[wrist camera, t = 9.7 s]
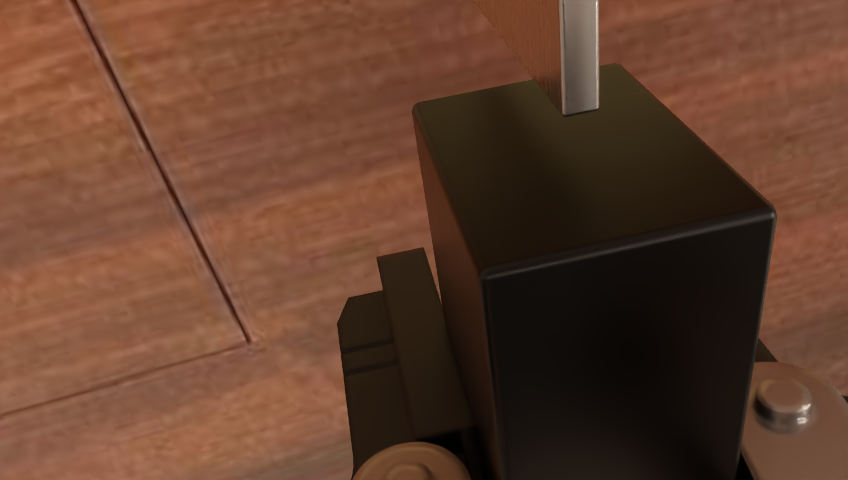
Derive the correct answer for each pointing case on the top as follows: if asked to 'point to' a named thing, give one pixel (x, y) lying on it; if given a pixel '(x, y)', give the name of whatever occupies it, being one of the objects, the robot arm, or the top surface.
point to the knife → (591, 264)
